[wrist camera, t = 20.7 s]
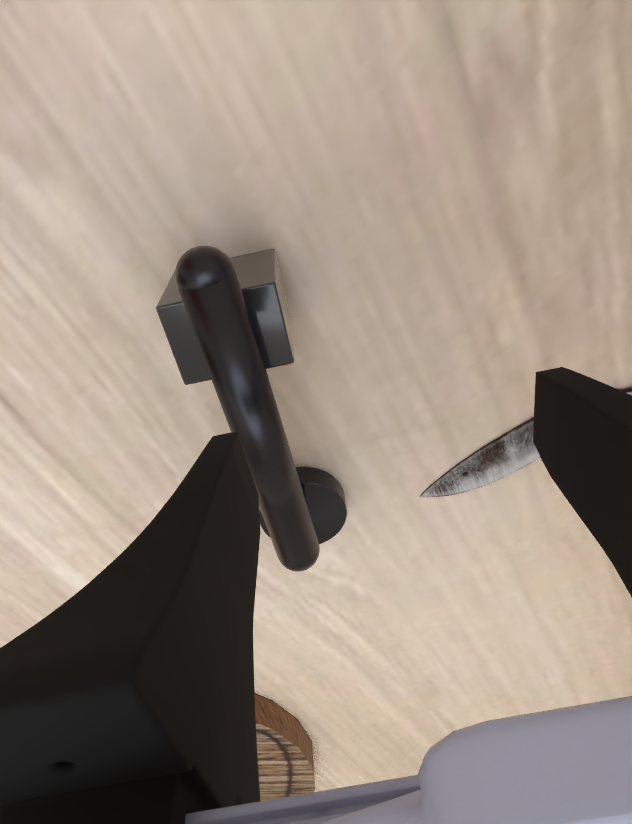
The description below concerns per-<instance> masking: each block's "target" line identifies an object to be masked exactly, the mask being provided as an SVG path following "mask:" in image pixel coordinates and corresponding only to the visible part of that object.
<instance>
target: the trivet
mask: <svg viewBox="0 0 632 824" xmlns="http://www.w3.org/2000/svg"><path fill="white" fill-rule="evenodd" d="M255 718H256V737H257V756H258V773H259V787H260V801H266V800H272V799H278V798H284V797H289V796H295V795H301V794H307V793H313V792H314V790H315V782H314V765H313V752H312V741H311V740H310V738H309V736H308V735H307V733H306V732H305V730H304V729H303V727H302V725H301V724H300V722H299V721H298V720H297V719H296V718H294V717H293V716H292V715H290V714H289V713H288V712H286V711H285V710H284V709H282V708H281V707H280V706H278V705H277V704H276V703H274V702H273V701H271V700H268V699H266V698H264V697H261V696H259V695H256V694H255Z"/></svg>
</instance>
